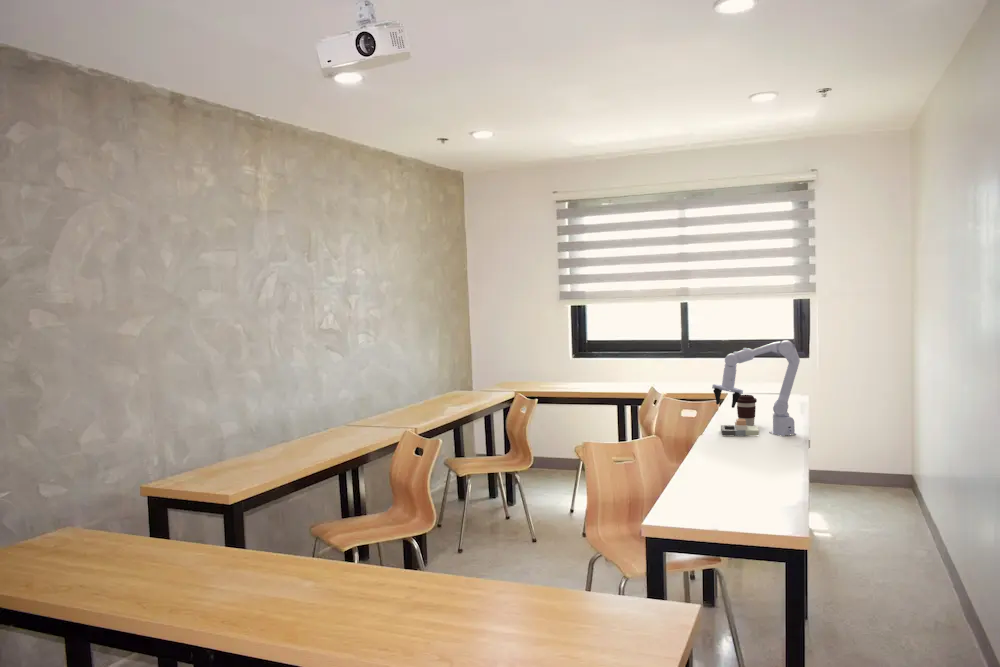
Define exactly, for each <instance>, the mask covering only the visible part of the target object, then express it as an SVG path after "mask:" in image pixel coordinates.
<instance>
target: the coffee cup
mask: <svg viewBox="0 0 1000 667" xmlns="http://www.w3.org/2000/svg"><path fill="white" fill-rule="evenodd" d="M757 401H758V400H757V398H755V397H754V395H752V394H741V396H740V397H739V398H738V400H737V402H736V411H737V417H738V418H737V419H745V420H746V425H747V426H755V418H756V409H757V408H756V403H757Z"/></svg>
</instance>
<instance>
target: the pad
mask: <svg viewBox="0 0 1000 667" xmlns="http://www.w3.org/2000/svg"><path fill="white" fill-rule="evenodd" d="M758 428H759V427H758V425H753V426H747V430H745V433H746V435H760V431H759V429H758Z"/></svg>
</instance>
